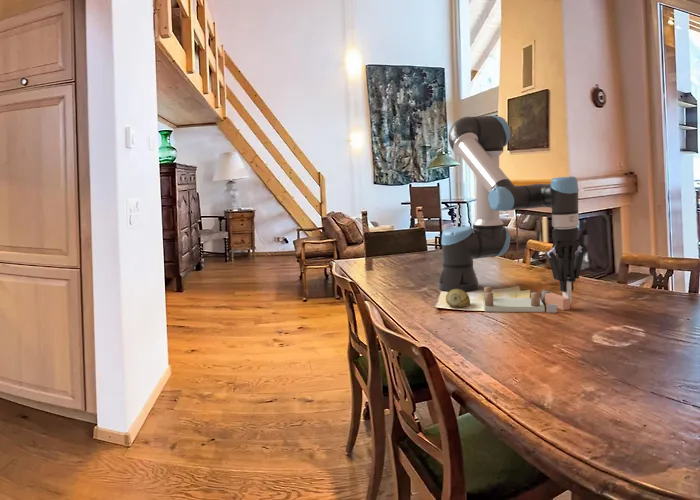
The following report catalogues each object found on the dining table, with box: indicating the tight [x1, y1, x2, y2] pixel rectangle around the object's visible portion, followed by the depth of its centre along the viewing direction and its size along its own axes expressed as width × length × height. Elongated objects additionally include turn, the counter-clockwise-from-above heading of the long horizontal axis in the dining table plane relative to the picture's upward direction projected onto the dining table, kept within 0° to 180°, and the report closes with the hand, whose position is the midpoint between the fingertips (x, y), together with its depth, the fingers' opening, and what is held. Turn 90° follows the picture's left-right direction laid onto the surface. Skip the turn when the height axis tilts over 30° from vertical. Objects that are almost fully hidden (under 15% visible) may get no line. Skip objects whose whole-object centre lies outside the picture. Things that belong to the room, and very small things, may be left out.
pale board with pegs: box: [483, 286, 558, 314], centre depth 157 cm, size 22×12×6 cm, turn 76°
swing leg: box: [541, 290, 571, 311], centre depth 156 cm, size 11×3×4 cm, turn 14°
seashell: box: [445, 289, 471, 308], centre depth 164 cm, size 10×7×8 cm
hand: (567, 301), depth 153 cm, fingers closed
